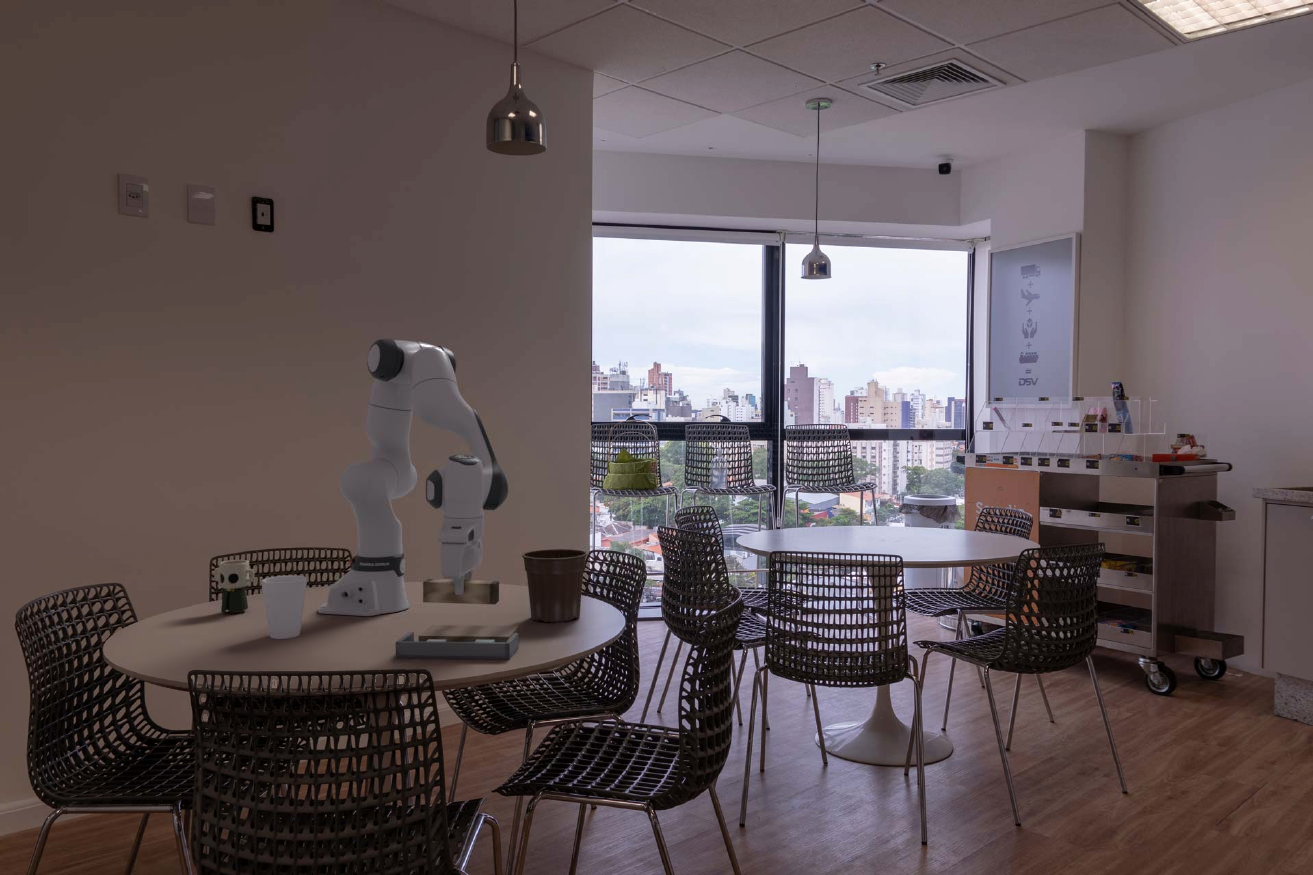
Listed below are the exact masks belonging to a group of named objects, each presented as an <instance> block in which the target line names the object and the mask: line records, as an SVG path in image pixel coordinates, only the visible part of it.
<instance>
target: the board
mask: <svg viewBox="0 0 1313 875" xmlns="http://www.w3.org/2000/svg"><path fill="white" fill-rule="evenodd" d="M519 628H520V627H519V625H461V624H460V625H458V624H457V625H456V624H455V625H454V624H453V625H451V624H446V625H444V624H431V626H429V627H428V628H426V629H425V630H424V631H422V632H421V633H420V634H419V635H418V641H425V642H426V641H427V640H428V639H439V640H447V642H475V641H476V640H495V642H507V640H508V639H509V638H510V637H511V636H512V635H513V634H514V633H518V638H520V634H519V632H520V630H519Z"/></svg>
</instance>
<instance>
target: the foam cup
mask: <svg viewBox="0 0 1313 875" xmlns="http://www.w3.org/2000/svg"><path fill="white" fill-rule="evenodd" d="M307 587H308V585H307V576H304V575H279V576H278V575H277V576H271V577H267V578H263V579H262V580H261V591H262V593H263V599H264V605H265V612H266V613H265V614H266V619H267V625H268V631H269V632H268V633H269V637H270V638H271V639H276V640H281V639H283V640H284V639H293V638H296V637H299V636H300V634H301V628H302V620H303V613H304V606H305V605H304V604H305V596H306V589H307Z"/></svg>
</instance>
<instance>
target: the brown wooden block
mask: <svg viewBox="0 0 1313 875" xmlns="http://www.w3.org/2000/svg"><path fill="white" fill-rule="evenodd" d="M464 586H465V592H464V594H462V595H456V594H455V585H454V582H453V579H445V578H444V579H440V578H439V579H437V578H427V579H425V580H424V581H423V582H422V603H428V604H429V603H434V604H463V605H464V604H466V605H467V604H468V605H469V604H470V605H496V604H498V603H499V602H500V581H499V580H476V579H475V580H473V579H472V580H464Z"/></svg>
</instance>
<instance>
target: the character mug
mask: <svg viewBox="0 0 1313 875" xmlns="http://www.w3.org/2000/svg"><path fill="white" fill-rule="evenodd" d="M213 575H214V577H213V579H214V581H215V582H218V585H219V587H220V588H222V589H224V591H223V593H222V598H221V611H220V612H221V613H224V614H225V613H227V611H228V613H229V614H234V613H242V612H244V611H246V610H248V609H249V605H248V598H247V591H246V589H245V587H247V586H249V584H250V583H254V582H255V569H252V568H250V561H249V560H245V559H233V560H232V559H231V560H224V561H220V562H219V563H218V567H217V568H214V570H213Z"/></svg>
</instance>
